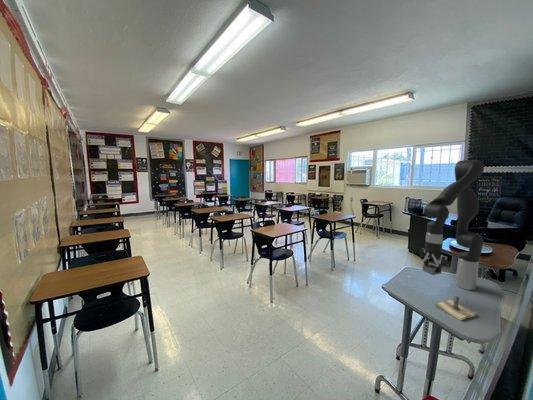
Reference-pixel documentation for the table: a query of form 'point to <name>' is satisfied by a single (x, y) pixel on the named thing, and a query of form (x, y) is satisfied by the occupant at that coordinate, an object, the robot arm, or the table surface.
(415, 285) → the table surface
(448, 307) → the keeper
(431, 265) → the link
